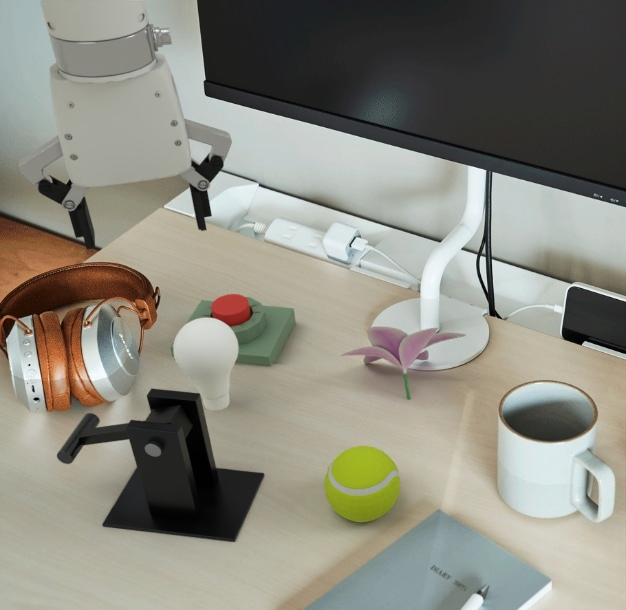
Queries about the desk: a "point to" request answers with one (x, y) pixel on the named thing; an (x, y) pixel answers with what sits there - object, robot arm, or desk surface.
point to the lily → (400, 346)
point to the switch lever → (115, 430)
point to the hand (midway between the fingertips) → (146, 232)
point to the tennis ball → (362, 484)
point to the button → (231, 309)
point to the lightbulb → (207, 358)
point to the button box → (257, 331)
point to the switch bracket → (181, 479)
